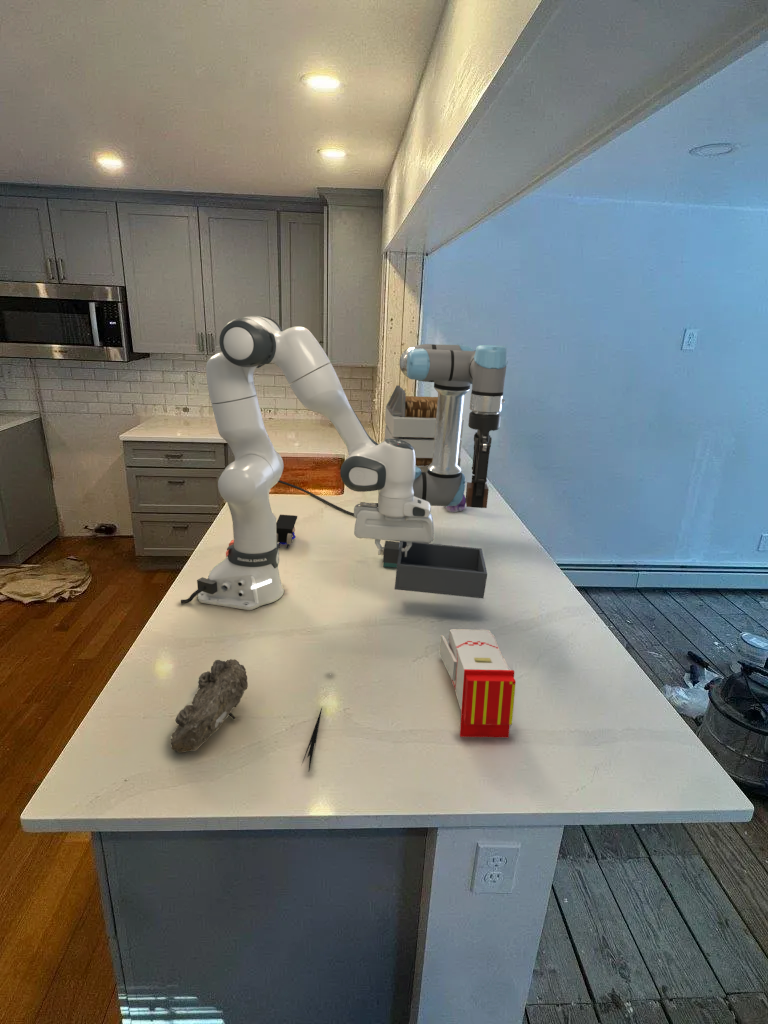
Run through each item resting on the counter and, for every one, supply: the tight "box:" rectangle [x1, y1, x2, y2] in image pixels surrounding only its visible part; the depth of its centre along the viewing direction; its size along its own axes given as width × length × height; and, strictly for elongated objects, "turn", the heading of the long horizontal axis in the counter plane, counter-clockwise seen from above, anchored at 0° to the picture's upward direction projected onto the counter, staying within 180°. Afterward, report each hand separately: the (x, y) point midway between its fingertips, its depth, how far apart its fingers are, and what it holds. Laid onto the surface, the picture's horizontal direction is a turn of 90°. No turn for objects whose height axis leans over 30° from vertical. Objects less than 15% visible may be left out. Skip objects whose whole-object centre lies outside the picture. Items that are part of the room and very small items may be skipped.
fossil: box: [170, 658, 249, 753], centre depth 106 cm, size 22×10×15 cm
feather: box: [301, 673, 332, 771], centre depth 108 cm, size 2×28×2 cm
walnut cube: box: [465, 481, 490, 509], centre depth 144 cm, size 5×5×5 cm
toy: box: [438, 628, 517, 738], centre depth 117 cm, size 12×13×30 cm
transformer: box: [383, 384, 464, 468], centre depth 268 cm, size 34×33×41 cm
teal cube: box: [382, 561, 397, 569], centre depth 175 cm, size 5×5×5 cm
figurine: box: [444, 493, 466, 513], centre depth 225 cm, size 9×10×15 cm
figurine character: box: [276, 514, 298, 549], centre depth 187 cm, size 7×8×15 cm
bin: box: [382, 540, 488, 600], centre depth 146 cm, size 26×16×8 cm, turn 86°
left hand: (392, 555), depth 146 cm, fingers closed on bin, 4 cm apart
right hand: (475, 503), depth 144 cm, fingers closed on walnut cube, 5 cm apart
